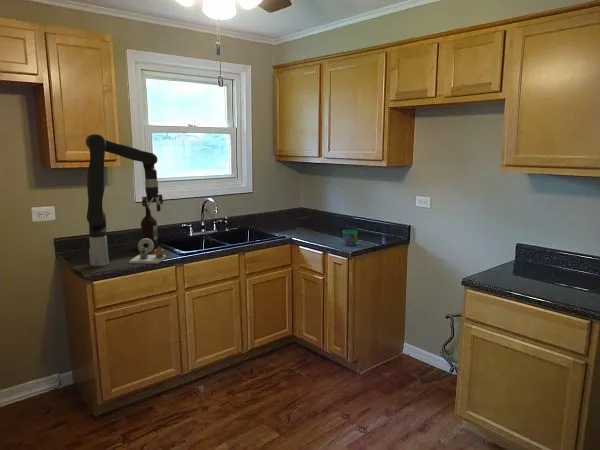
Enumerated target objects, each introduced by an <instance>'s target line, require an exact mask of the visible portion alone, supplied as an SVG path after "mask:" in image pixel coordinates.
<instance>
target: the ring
mask: <svg viewBox="0 0 600 450" xmlns="http://www.w3.org/2000/svg"><path fill="white" fill-rule="evenodd" d="M156 254H163V255H165V248H161V251H157V248H156V249H154V250H153V255H156Z"/></svg>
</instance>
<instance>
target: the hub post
mask: <svg viewBox="0 0 600 450" xmlns="http://www.w3.org/2000/svg"><path fill="white" fill-rule="evenodd" d="M156 249H157V251H161V249H162V247H161V246H158V247H157V248H156ZM155 255H156V258H162V257H163V255H164V254H155Z"/></svg>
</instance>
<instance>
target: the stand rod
mask: <svg viewBox="0 0 600 450" xmlns="http://www.w3.org/2000/svg"><path fill="white" fill-rule="evenodd" d="M145 248H146V247H144V246H143V248H142V252H140V251H139V255H140V259H147V258H148V255H149V253H148V252H145Z"/></svg>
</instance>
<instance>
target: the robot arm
mask: <svg viewBox="0 0 600 450" xmlns="http://www.w3.org/2000/svg"><path fill="white" fill-rule="evenodd" d="M85 145H86V147H87V148H88V149H89V164H88V168H87V174H86V186H87V187H86V188H87V198H88V199H87V201H88V202H87V213H86V220H87V222H88V235H89V236H88V238H89V239H88V240H89V249H88V254H89V255H88V256H89V265H90V266H93V267H105V266H107V265H109V264H110V260H109V259H110V258H109V249H108V236H107V217H106V212H105V211H104V209H103V200H104V199H103V198H104V193H105V188H106V174H105V169H106V168H105V155H106V154H105V153H109V154H110V153H111V154H114V155H117V156H119V157H122V158H125V159H128V160H132V161H136V162H140V163H142V165H143V166H142V167H143V169H144V186H145V187H144V190H145V194H146V195H145V196H142V197H141V204H142V205H141V206H142V207H144V208H145V214H146V213H150V212H151V211H150V212H149V210H150V206H151V204H153V203H155V204H156V211H157V212H161V205H163V204H164V200H163V195H162V194H159V181H158V173H157V170H156V168H155V165H156V164H157V163H158V160H159V159H158V156H157V155H156V154H154V153H152V152H148V151H145V150H141V149H138V148H135V147H133V146H129V145H125V144H120V143H117V142H112V141H110V140H107V139H106V138H104V137H103V135H100V134H95V133H94V134H93V133H92V134H90V135H88V136H87V137H86V138H85Z"/></svg>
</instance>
